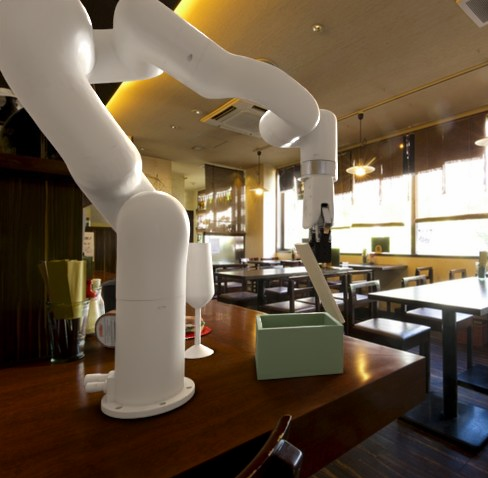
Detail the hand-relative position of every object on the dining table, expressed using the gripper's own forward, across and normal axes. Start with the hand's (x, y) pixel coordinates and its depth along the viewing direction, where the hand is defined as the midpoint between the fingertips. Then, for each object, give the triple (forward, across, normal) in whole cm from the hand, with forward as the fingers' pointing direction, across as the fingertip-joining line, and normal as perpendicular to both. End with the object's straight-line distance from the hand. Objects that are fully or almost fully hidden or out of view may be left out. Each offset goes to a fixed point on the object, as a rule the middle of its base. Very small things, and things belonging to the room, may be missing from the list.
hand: (319, 261), depth 67 cm
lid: (+4, 0, -1) cm, 4 cm away
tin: (+20, -18, -41) cm, 49 cm away
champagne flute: (+20, -11, -25) cm, 34 cm away
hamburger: (+20, -29, -31) cm, 47 cm away
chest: (+20, 0, -5) cm, 21 cm away
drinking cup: (+20, -30, -47) cm, 59 cm away
